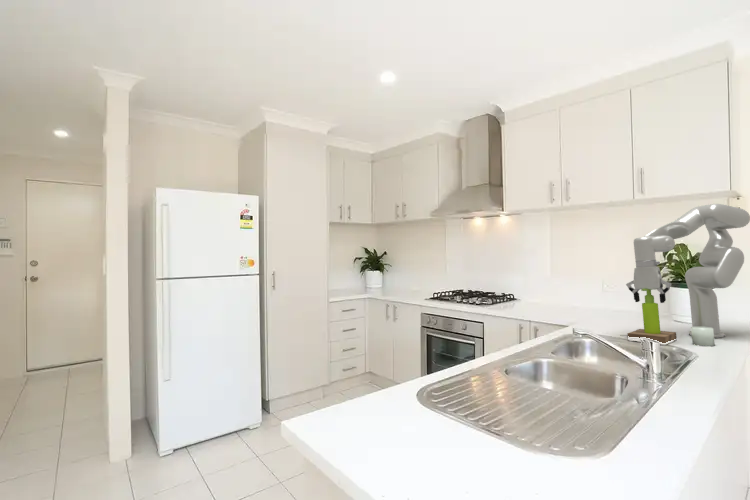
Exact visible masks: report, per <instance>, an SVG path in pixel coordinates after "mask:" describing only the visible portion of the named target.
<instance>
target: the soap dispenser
mask: <svg viewBox="0 0 750 500" xmlns="http://www.w3.org/2000/svg"><path fill="white" fill-rule="evenodd" d="M640 290H641V292H646V294H645V295H644V302H642V303H641V308H642V321H643V329H644V332H645V333H649V334H659V333H661V332H660V331H661V324H660V323H661V322H660V321H661V320H660V311H659V310H660V309H659V304H658V303H657V302H655V295H653V294H652V290H648V289H640Z"/></svg>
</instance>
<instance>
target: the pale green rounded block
mask: <svg viewBox="0 0 750 500" xmlns="http://www.w3.org/2000/svg"><path fill="white" fill-rule="evenodd" d="M690 331H692V335H691V341H692V345H694V344H695V345H694V346H697V345H699V346H698V347H715V345H716V344H715V338H714V331H713V328H711V327H702V326H694V327H692V326H691V327H690Z"/></svg>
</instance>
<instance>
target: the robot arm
mask: <svg viewBox="0 0 750 500" xmlns="http://www.w3.org/2000/svg"><path fill="white" fill-rule="evenodd" d="M749 223H750V213H749V212H748V211H747V210H746V209H743V208H740V207H736V206H732V205H731V206H730V205H727V204H722V203H711V204H706V205H698V206H694V207H693V208H691V209H690V210H688V211H687V212H685V213H684V214H682V215H681V216H680V217H678V218H677V219H675V220H674V221H671V222H669V223H667V224H664V225H663V226H660V227H658V228H656V229H653V230H652V231H650V232H648V233H647V234H646V235H644V236H643V237H636V238H634V239H633V250H634V259H635V268H634V270H633V280H631V281H629V282H627V283H626V284H625V285H626V287H627V289H628V290H629V291H630V292H631V293H632V294H633V300H634V301H635V303H639V302H640V301H641V299H640V293H639V291H640V290H642V289H648V290H651V291H652V290H655V291H658V292H659V301H660V304H663V303H664V304H665V302H666V300H667V299H666V298H667V297H666V293H667V292H669V290H670V289H671V287H672V283H671V282H669V281H666V280H663V276H662V273H661V269H660V267H659V266H658V265H660V264H661V262H660V261H658V260H657V259H656V253H666V252H669V251H671V250H673V249H674V248H675V246H676V242H675V240H677V239H681V238H682V239H683V238H685V237H688V236H689V235H691V234H693V233H694V232H695V231H697V230H698V229H700V228H701V227H703V226H705V228H706V230H707V233H708V236H709V239H708V241H707V242H706V244H705V246H704V247H703V249H702V251H701V253H700V255H699V258H698V262H699V264H700V265H701V266H694V267H691V268H688V269H687V271H686V272H685V274H684V279H685V282H686V286H687V289H688V294H689V306H690V315H691V316H690V317H691V327H694V326H702V327H711V328H713V331H714V339H716V338H718V339H720V338H725V337H726V333H724V332H722V331H721V327H720V319H719V317H720V316H719V308H718V307H719V306H718V298H717V294H716V292H715V291H714V290H713V289H726V288H729V287H731V286H732V284H733V283H734V281H735V280H736V278H737V276H738V274H739V272H740V271H741V269H742V267H743V264H744V263H745V254H744V252H743V250H742V249H740V248H738V247H735V246H733V243H734V241H733V240H734V239H733V237H732V236H731V234H730V233H729V232H728V230H731V229H732V230H733V229H740V228H744V227H746V226H748V225H749ZM632 285H633V287H632ZM664 285H665V287H664ZM689 334H690V335H689ZM688 335H689V336H692V331H691V330H689V331H688Z"/></svg>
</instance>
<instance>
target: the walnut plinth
mask: <svg viewBox="0 0 750 500" xmlns="http://www.w3.org/2000/svg"><path fill="white" fill-rule="evenodd" d="M660 332H661V333H659V334H649V333H645V332H644V328H643V329H642V328H639V329H636V330H633V331H630V332H628V333H627V337H628V336H629V337H639V338H640V337H646V338H650V339H653V340H657V341H659V342H662V343H666V342H668V341H671V340H674V339H676V338H677V332H676V331H665V330H660ZM677 339H678V338H677Z"/></svg>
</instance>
